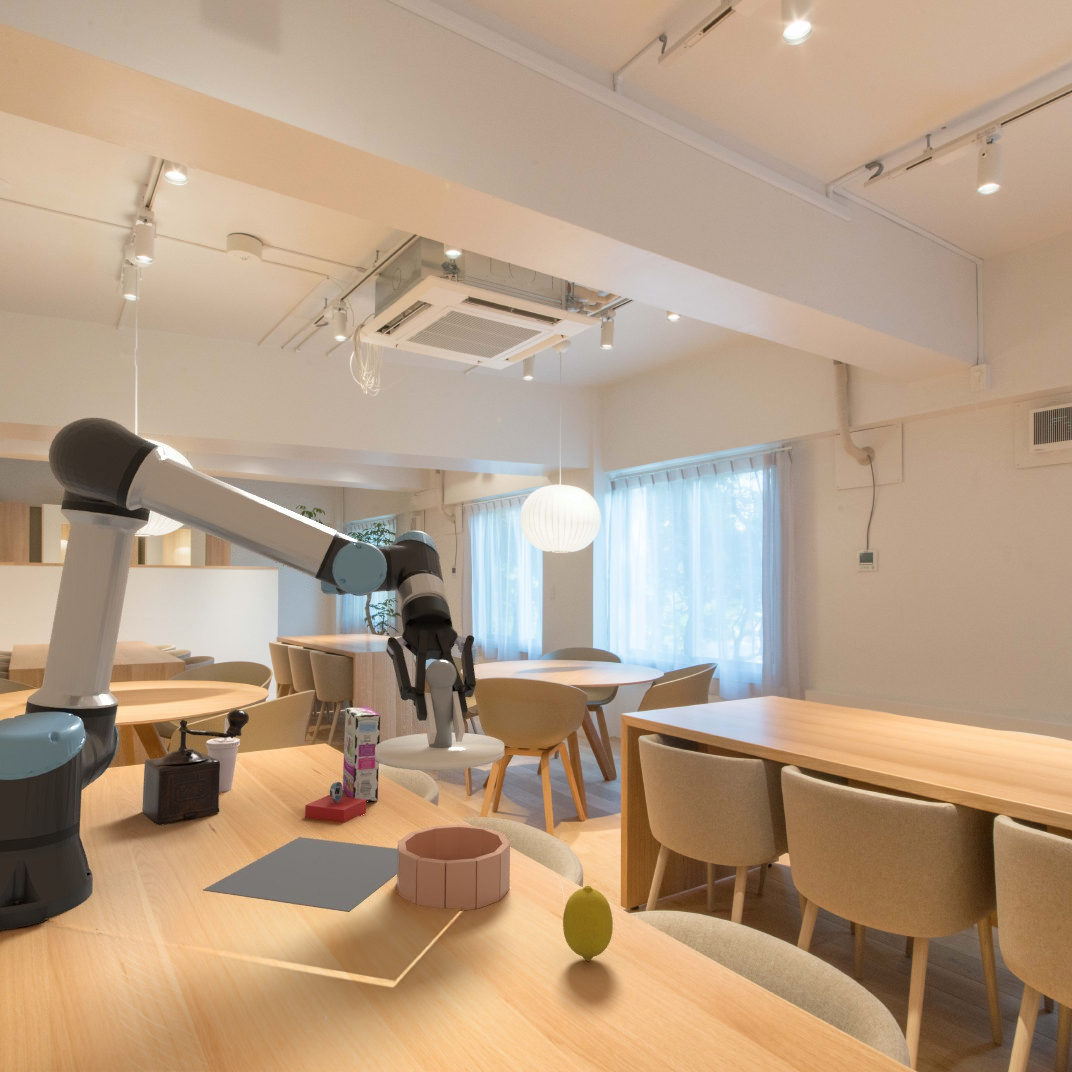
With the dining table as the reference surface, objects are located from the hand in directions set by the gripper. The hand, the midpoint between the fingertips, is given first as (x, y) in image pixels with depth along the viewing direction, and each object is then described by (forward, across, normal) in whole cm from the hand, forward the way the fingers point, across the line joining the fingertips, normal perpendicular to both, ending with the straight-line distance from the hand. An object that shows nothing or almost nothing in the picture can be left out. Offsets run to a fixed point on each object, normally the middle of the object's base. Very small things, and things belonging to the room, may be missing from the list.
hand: (446, 736), depth 103 cm
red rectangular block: (-12, +11, -42) cm, 46 cm away
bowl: (+13, -1, -16) cm, 21 cm away
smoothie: (-30, +32, -60) cm, 74 cm away
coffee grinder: (-21, +35, -50) cm, 65 cm away
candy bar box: (-21, +6, -51) cm, 56 cm away
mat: (+6, +15, -24) cm, 29 cm away
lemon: (+31, -11, +1) cm, 33 cm away
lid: (-1, 0, -5) cm, 5 cm away
